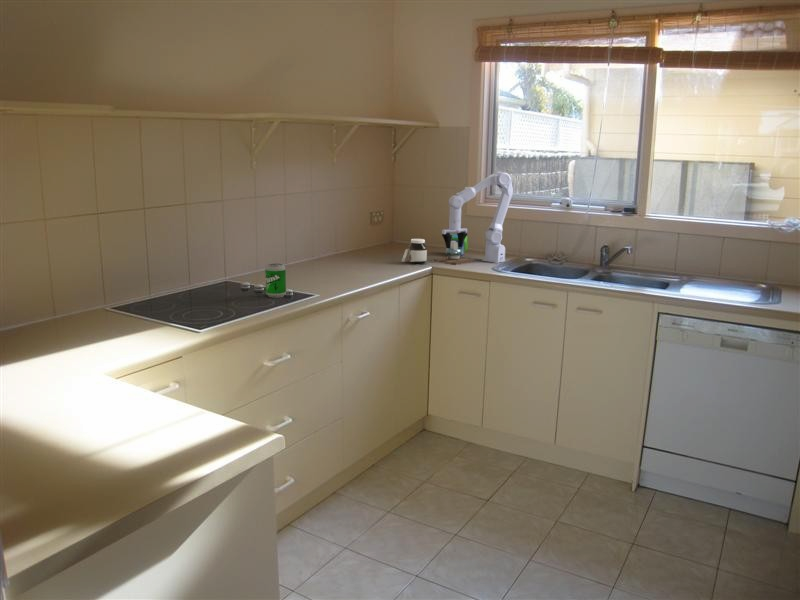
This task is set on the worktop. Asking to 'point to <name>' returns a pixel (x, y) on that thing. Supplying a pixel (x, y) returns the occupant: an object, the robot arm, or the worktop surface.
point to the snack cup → (464, 246)
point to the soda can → (275, 280)
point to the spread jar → (416, 252)
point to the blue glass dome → (454, 249)
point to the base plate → (462, 260)
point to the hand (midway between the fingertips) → (454, 247)
